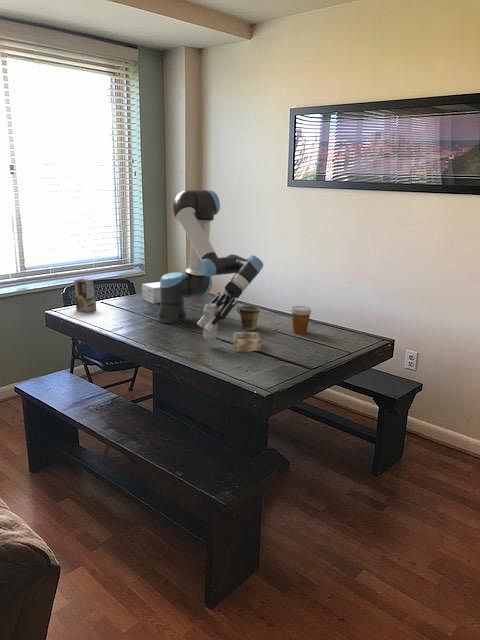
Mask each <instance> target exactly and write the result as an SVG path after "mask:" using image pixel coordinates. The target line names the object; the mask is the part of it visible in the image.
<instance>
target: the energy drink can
mask: <svg viewBox="0 0 480 640" xmlns="http://www.w3.org/2000/svg"><path fill="white" fill-rule="evenodd" d="M218 311H219V308H217V306H216V304H213V303H210V302H209V303H205V305H204V307H203V315H204V318H203V326H202V328H203V329H202V331H203V333H202V336H203V338H204V339H205V340H206V341H213V340H214V341H215V340H216V338H218V322H217V323H216V325H214V326H213V328H212V329H211V330H210V331H207V330H206V329H205V326H206V325H207V324H208V323H209V321H210V320H211V319H212V318H213V317H214V316H215V315H217V313H218ZM215 317H216V316H215Z"/></svg>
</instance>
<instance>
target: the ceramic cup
mask: <svg viewBox="0 0 480 640" xmlns="http://www.w3.org/2000/svg"><path fill="white" fill-rule="evenodd" d="M260 310H261V309H260V307H259V306H257V305H242V306H237V307H236V311H237V312H238V314H239V316H240V319H241V320H240V321H241V328H242V329H244V330H246V331H247V330H248V331H249V330H251V331H253V330H256V328H257V324H258V318H259V314H260Z"/></svg>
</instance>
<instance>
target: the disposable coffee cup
mask: <svg viewBox="0 0 480 640" xmlns="http://www.w3.org/2000/svg"><path fill="white" fill-rule="evenodd" d="M290 312H291V317H292V318H291V319H292V330H293V332H294V333H293V334H295V335H306V334H307V332H308V326H309V322H310V316H311V313H312V310H311V308H310V307H308V306H305V305H304V306H302V305H297V306H292V309H291V310H290Z"/></svg>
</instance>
